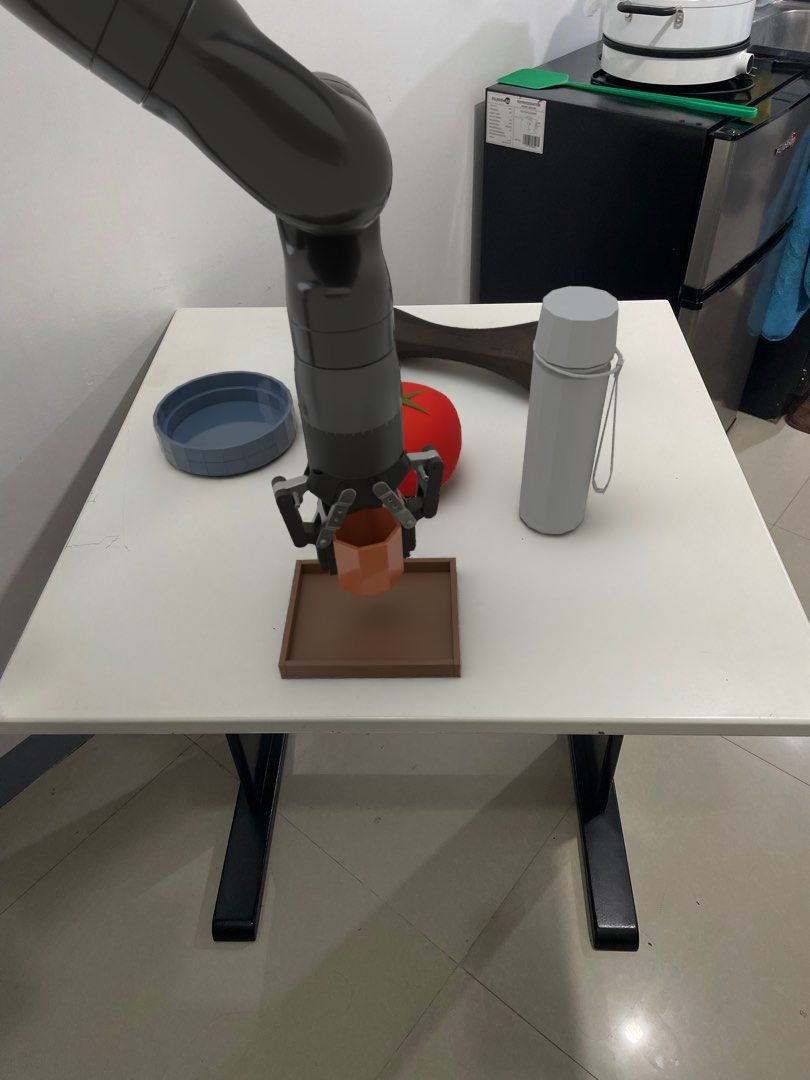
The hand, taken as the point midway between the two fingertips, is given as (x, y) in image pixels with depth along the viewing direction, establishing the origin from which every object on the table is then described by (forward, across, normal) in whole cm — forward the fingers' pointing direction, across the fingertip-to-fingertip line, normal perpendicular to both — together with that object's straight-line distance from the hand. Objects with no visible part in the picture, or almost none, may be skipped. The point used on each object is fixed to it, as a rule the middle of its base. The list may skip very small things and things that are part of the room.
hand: (367, 559), depth 65 cm
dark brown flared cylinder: (+9, -24, -38) cm, 46 cm away
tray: (+9, 0, 0) cm, 9 cm away
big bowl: (+9, +10, -35) cm, 37 cm away
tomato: (+9, -9, -20) cm, 24 cm away
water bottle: (+9, -23, -8) cm, 26 cm away
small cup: (+2, 0, 0) cm, 2 cm away
